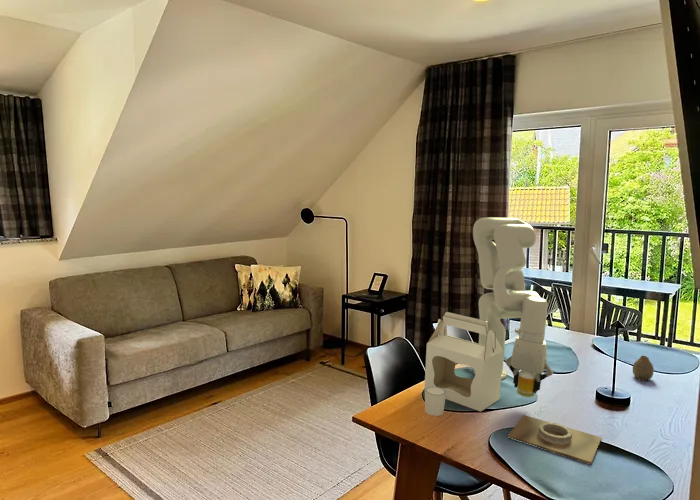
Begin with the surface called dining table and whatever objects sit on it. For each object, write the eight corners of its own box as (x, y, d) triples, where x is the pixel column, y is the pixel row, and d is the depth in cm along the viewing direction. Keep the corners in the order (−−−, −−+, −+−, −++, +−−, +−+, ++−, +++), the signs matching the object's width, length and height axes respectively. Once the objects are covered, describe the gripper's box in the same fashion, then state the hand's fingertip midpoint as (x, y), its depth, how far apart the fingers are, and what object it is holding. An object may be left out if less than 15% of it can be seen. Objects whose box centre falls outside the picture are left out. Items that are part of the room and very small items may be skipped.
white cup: (432, 418, 153) (433, 396, 152) (419, 409, 159) (420, 388, 158) (449, 414, 156) (451, 393, 155) (436, 405, 162) (437, 384, 161)
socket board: (507, 438, 143) (508, 429, 142) (523, 417, 156) (524, 408, 155) (591, 465, 130) (592, 455, 130) (601, 439, 143) (602, 430, 143)
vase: (633, 380, 188) (635, 358, 187) (630, 374, 194) (632, 352, 193) (654, 383, 185) (656, 361, 184) (650, 377, 192) (653, 355, 190)
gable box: (423, 391, 173) (427, 313, 169) (443, 380, 183) (448, 306, 179) (481, 412, 158) (487, 327, 154) (500, 399, 168) (506, 319, 164)
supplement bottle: (535, 398, 158) (538, 370, 156) (518, 396, 159) (520, 368, 157) (533, 391, 163) (536, 363, 162) (515, 389, 164) (518, 361, 163)
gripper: (501, 332, 160) (496, 385, 163) (557, 345, 150) (550, 401, 153) (508, 326, 166) (503, 377, 169) (562, 338, 156) (556, 392, 159)
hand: (526, 388), depth 161 cm, fingers closed on supplement bottle, 5 cm apart
